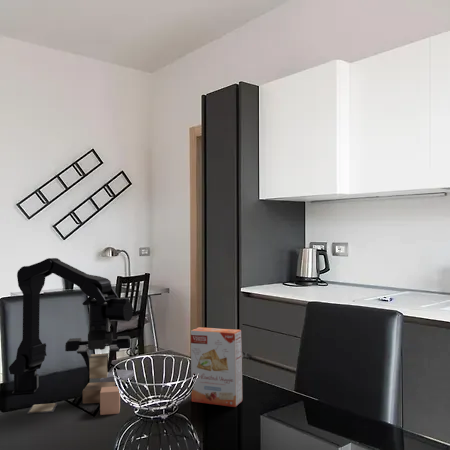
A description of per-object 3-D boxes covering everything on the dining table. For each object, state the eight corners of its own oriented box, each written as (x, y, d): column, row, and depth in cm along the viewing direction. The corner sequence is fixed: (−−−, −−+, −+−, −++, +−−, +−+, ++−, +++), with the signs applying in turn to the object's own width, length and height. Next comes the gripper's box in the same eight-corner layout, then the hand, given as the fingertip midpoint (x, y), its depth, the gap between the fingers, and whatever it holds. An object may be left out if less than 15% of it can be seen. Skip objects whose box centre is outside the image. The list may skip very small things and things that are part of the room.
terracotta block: (100, 415, 130) (100, 392, 130) (101, 408, 135) (101, 387, 135) (119, 413, 131) (118, 391, 131) (120, 407, 136) (119, 386, 136)
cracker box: (190, 402, 139) (189, 329, 140) (199, 396, 144) (198, 326, 145) (235, 408, 133) (234, 332, 134) (243, 401, 139) (241, 328, 140)
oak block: (89, 378, 141) (89, 358, 142) (91, 374, 146) (91, 354, 147) (106, 377, 142) (106, 357, 142) (108, 373, 147) (108, 353, 147)
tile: (27, 413, 132) (27, 412, 132) (32, 405, 138) (32, 404, 138) (53, 411, 133) (53, 410, 133) (57, 404, 139) (57, 402, 139)
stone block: (98, 395, 154) (128, 388, 154) (95, 380, 154) (125, 373, 154) (108, 385, 166) (136, 379, 166) (105, 371, 166) (133, 365, 166)
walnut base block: (82, 404, 140) (82, 390, 140) (88, 395, 148) (88, 382, 148) (110, 403, 140) (110, 389, 140) (115, 394, 148) (115, 381, 148)
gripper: (62, 325, 135) (62, 381, 135) (129, 323, 139) (129, 377, 138) (68, 319, 146) (68, 371, 146) (130, 317, 150) (130, 368, 149)
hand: (99, 372), depth 144 cm, fingers closed on oak block, 5 cm apart
